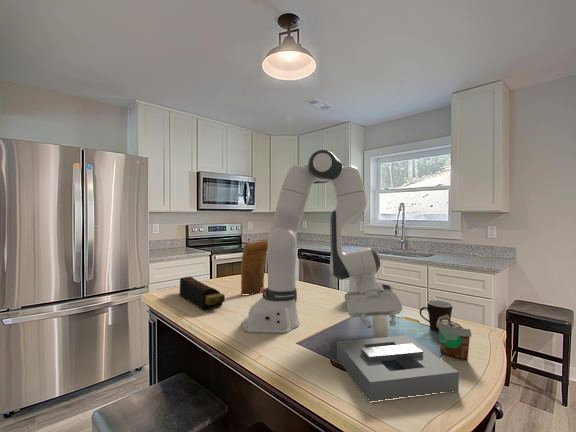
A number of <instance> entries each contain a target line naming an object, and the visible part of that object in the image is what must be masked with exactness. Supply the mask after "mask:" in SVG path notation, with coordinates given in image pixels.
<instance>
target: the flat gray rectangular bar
mask: <svg viewBox="0 0 576 432" xmlns="http://www.w3.org/2000/svg"><path fill="white" fill-rule="evenodd" d="M361 354H362V355H363V356H364V357H365V358H366V359H367V360H368V361H369V362H378V361H380V362H385V361H396V360H397V359H407V358H417V357H423V351H422V350H420V349H419V348H418V347H416V346H415V345H414V344H401V345H390V346H379V347H368V348H361Z"/></svg>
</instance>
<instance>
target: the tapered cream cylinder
mask: <svg viewBox="0 0 576 432" xmlns="http://www.w3.org/2000/svg"><path fill="white" fill-rule="evenodd" d="M372 317H373V319H372V338H383V337H389V335H388V334H389V315H384V314H374V315H373V316H372Z"/></svg>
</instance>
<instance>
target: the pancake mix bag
mask: <svg viewBox="0 0 576 432" xmlns="http://www.w3.org/2000/svg"><path fill="white" fill-rule="evenodd" d="M241 256H242V257H241V267H240V279H241V280H240V285H241V287H240V289H241V291H240V295H241V294H252V293H256V292H260V291H261V288H262V287H264V288H265V285H264V282H265V279H264V278H265V267H266V264H267V257H268V240H262V241H256V242H251V243H248V242H247V243H245V245H243V248H242V255H241ZM260 293H261V292H260ZM256 294H257V293H256Z"/></svg>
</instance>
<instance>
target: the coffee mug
mask: <svg viewBox="0 0 576 432" xmlns="http://www.w3.org/2000/svg"><path fill="white" fill-rule="evenodd" d="M426 305H427V307H426V306H423V307H421V308H420V309H419V312H418V313H419V315H420V317H422V319H424V320H425V321H426V322H428V323H429V329H430V330H431V331H433V332H435V333H439V328H438V327H437V321H438V319H439V317H442V316H447V319H449V320H450V321H451V319H452V312H453V311H452V310H453V306H454V305H453V304H452V303H450V302H449V301H445V300H440V299H431V300H428V301H426ZM425 309H426V310H427V311H428V312H427V313H428V318H426V317H424V315H423V314H422V312H423V310H425Z"/></svg>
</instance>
